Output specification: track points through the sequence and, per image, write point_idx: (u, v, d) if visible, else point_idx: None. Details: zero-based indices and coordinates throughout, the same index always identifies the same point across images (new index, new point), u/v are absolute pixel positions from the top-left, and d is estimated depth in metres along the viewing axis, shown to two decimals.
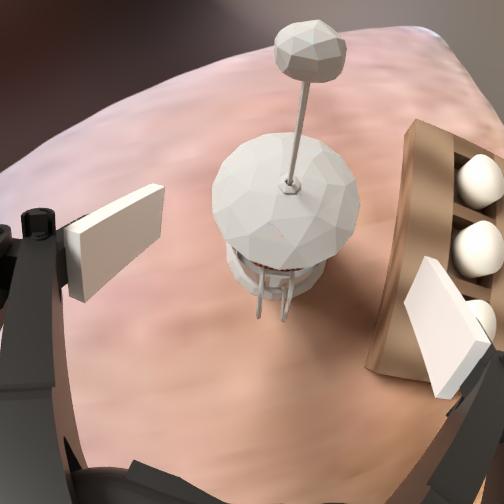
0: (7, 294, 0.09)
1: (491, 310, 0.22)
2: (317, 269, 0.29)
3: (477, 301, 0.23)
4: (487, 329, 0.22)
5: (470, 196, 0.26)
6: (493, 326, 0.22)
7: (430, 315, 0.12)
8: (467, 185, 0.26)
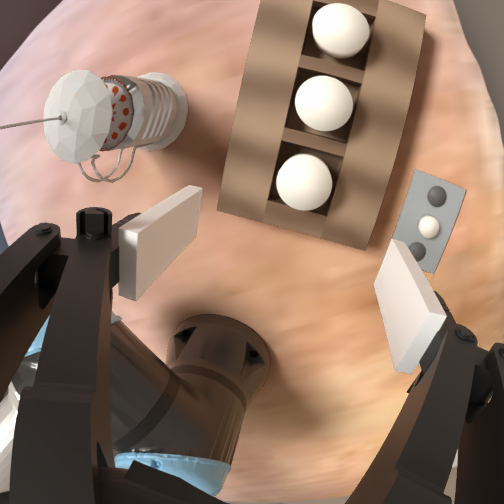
0: (51, 295, 0.09)
1: (324, 168, 0.27)
2: (177, 124, 0.33)
3: (304, 157, 0.27)
4: (318, 186, 0.28)
5: (321, 47, 0.24)
6: (327, 185, 0.28)
7: (393, 293, 0.13)
8: (314, 37, 0.24)
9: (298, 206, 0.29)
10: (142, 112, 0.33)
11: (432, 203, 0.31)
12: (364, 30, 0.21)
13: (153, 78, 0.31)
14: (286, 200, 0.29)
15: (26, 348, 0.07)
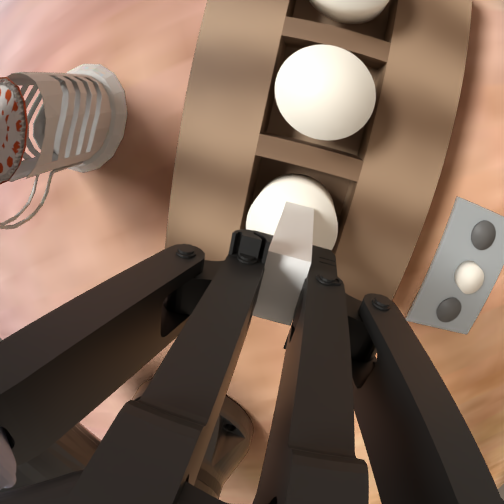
0: (177, 322, 0.10)
1: (325, 204, 0.16)
2: (112, 134, 0.22)
3: (291, 186, 0.16)
4: (314, 234, 0.17)
5: (319, 4, 0.13)
6: (330, 231, 0.17)
7: None
8: None
9: None
10: None
11: (476, 245, 0.20)
12: None
13: (83, 72, 0.20)
14: None
15: (131, 372, 0.08)
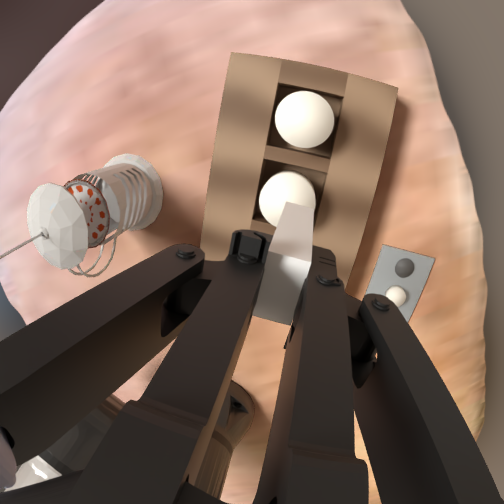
0: (177, 322, 0.10)
1: None
2: (153, 208, 0.36)
3: None
4: None
5: None
6: None
7: None
8: None
9: None
10: None
11: (399, 274, 0.35)
12: (328, 121, 0.25)
13: (128, 161, 0.35)
14: None
15: (131, 372, 0.08)
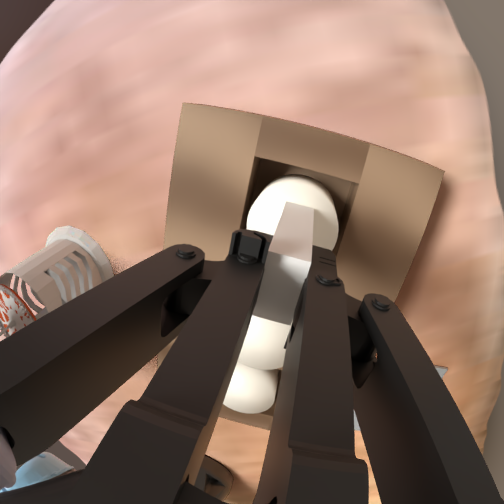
0: (178, 322, 0.10)
1: (265, 386, 0.24)
2: None
3: (242, 375, 0.24)
4: (259, 399, 0.24)
5: None
6: (269, 398, 0.24)
7: None
8: None
9: (239, 410, 0.25)
10: (67, 276, 0.28)
11: None
12: (330, 233, 0.17)
13: (70, 238, 0.27)
14: (227, 404, 0.25)
15: (131, 373, 0.08)
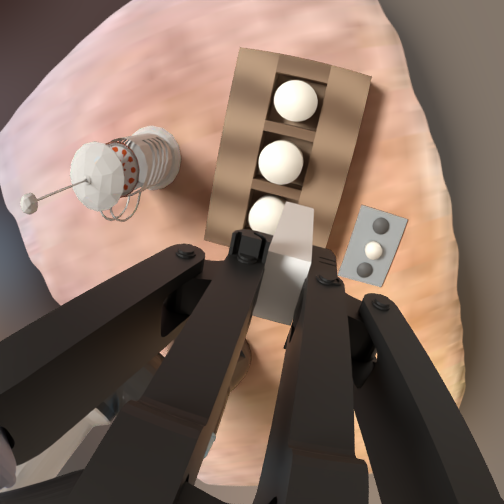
0: (177, 322, 0.10)
1: (282, 208, 0.39)
2: (172, 170, 0.44)
3: (267, 201, 0.39)
4: (278, 221, 0.40)
5: None
6: None
7: None
8: None
9: None
10: (145, 159, 0.44)
11: (376, 231, 0.42)
12: (313, 102, 0.33)
13: (152, 132, 0.42)
14: None
15: (131, 372, 0.08)
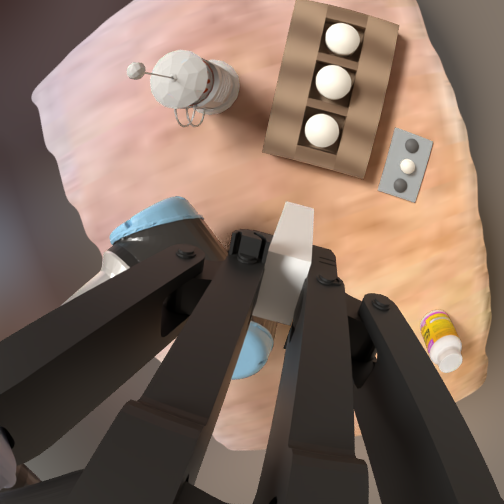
0: (178, 322, 0.10)
1: (334, 121, 0.43)
2: (232, 96, 0.47)
3: (321, 115, 0.43)
4: (330, 132, 0.43)
5: (330, 50, 0.40)
6: (336, 131, 0.43)
7: None
8: (326, 43, 0.39)
9: (318, 144, 0.45)
10: None
11: (409, 150, 0.46)
12: (356, 39, 0.37)
13: (214, 64, 0.46)
14: (311, 141, 0.45)
15: (131, 372, 0.08)
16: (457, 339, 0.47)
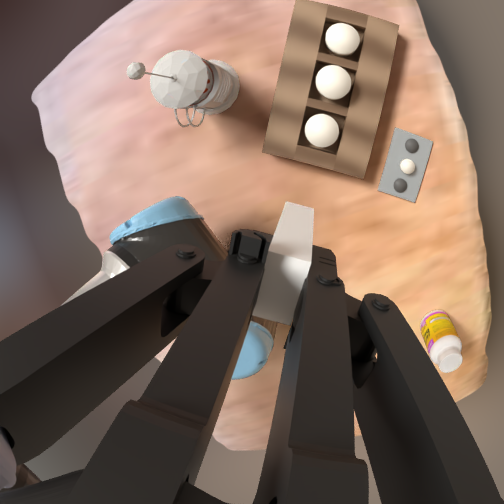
0: (177, 322, 0.10)
1: (334, 121, 0.43)
2: (232, 96, 0.47)
3: (321, 115, 0.43)
4: (330, 132, 0.43)
5: (330, 50, 0.40)
6: (336, 131, 0.43)
7: None
8: (326, 43, 0.39)
9: (318, 144, 0.45)
10: None
11: (408, 150, 0.46)
12: (356, 39, 0.37)
13: (214, 64, 0.46)
14: (311, 141, 0.45)
15: (131, 372, 0.08)
16: (457, 339, 0.47)
